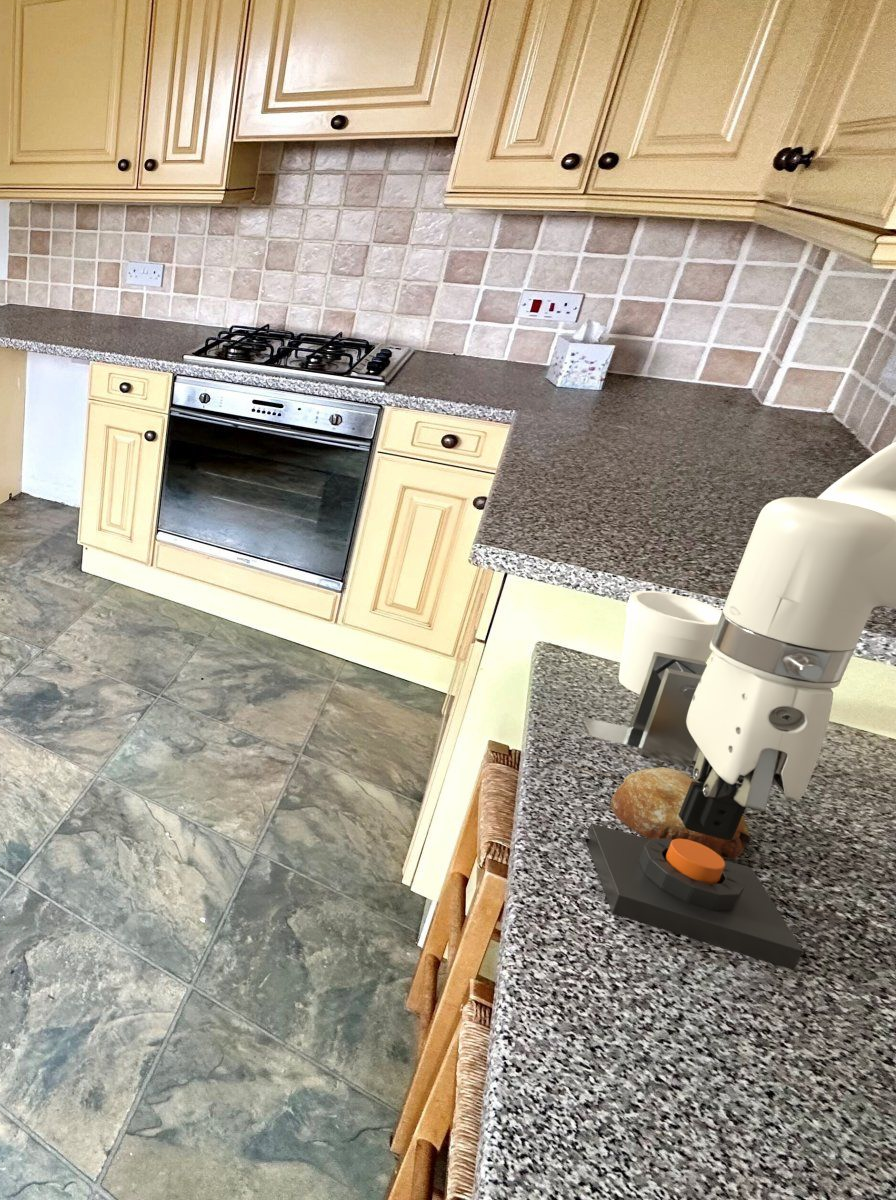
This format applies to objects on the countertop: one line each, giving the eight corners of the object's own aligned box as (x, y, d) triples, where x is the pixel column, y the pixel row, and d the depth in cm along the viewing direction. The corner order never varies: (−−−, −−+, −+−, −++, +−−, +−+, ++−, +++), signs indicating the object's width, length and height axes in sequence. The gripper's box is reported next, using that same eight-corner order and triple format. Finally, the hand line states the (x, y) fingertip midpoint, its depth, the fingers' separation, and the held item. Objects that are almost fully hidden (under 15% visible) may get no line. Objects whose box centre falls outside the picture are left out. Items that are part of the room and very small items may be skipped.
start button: (710, 862, 71) (716, 847, 70) (726, 890, 68) (732, 874, 67) (659, 848, 73) (665, 833, 72) (672, 874, 69) (678, 859, 69)
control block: (744, 885, 73) (758, 852, 72) (794, 971, 64) (811, 934, 63) (584, 840, 78) (595, 808, 77) (611, 913, 70) (624, 878, 68)
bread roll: (626, 817, 86) (604, 749, 86) (757, 830, 79) (733, 754, 79) (615, 866, 80) (592, 791, 80) (757, 884, 72) (731, 802, 72)
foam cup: (601, 667, 109) (627, 584, 105) (689, 689, 104) (720, 603, 100) (606, 698, 102) (635, 610, 98) (701, 724, 97) (736, 632, 93)
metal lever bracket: (706, 756, 91) (742, 661, 87) (737, 804, 83) (779, 702, 79) (579, 726, 96) (607, 635, 92) (597, 769, 89) (629, 671, 85)
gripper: (897, 708, 55) (802, 907, 61) (797, 620, 68) (726, 792, 74) (755, 679, 58) (678, 871, 64) (685, 601, 71) (626, 767, 77)
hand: (704, 828), depth 69 cm, fingers closed
